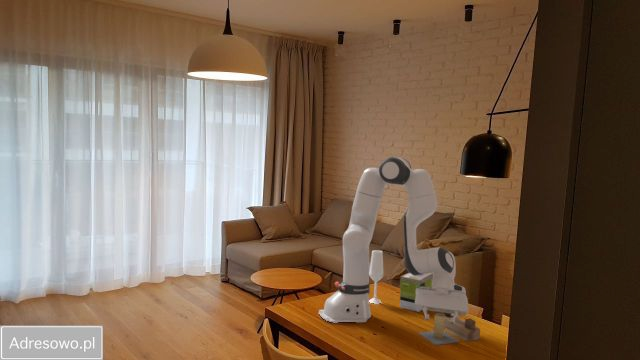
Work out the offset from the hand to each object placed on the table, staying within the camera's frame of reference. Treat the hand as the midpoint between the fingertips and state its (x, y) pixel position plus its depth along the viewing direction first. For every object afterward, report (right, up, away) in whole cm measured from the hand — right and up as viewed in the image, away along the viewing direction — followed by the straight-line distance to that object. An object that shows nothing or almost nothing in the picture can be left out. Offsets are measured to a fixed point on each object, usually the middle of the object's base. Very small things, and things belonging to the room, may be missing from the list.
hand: (439, 321), depth 175 cm
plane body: (+9, -6, +8) cm, 14 cm away
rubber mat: (0, -7, +1) cm, 7 cm away
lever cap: (0, -6, +1) cm, 6 cm away
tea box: (-1, -5, +37) cm, 38 cm away
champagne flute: (-20, -4, +41) cm, 45 cm away
